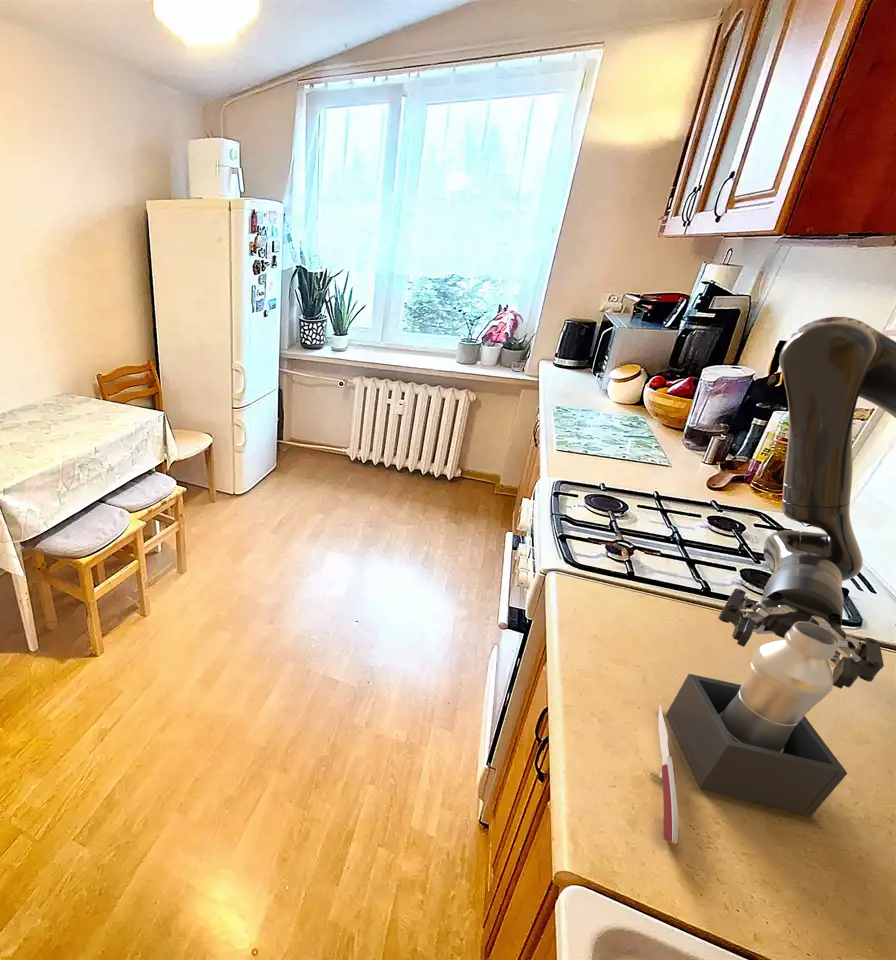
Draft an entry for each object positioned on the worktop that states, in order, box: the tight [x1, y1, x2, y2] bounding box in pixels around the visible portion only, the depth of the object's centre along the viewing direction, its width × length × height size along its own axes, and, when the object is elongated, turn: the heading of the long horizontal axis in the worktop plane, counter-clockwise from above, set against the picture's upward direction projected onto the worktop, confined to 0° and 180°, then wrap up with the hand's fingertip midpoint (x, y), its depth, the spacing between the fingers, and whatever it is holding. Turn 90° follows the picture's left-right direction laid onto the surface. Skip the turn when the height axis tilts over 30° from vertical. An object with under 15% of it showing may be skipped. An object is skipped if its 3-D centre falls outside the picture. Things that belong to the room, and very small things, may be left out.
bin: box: [665, 673, 848, 818], centre depth 62 cm, size 11×11×8 cm
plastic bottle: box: [719, 621, 841, 753], centre depth 59 cm, size 6×7×20 cm
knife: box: [657, 704, 680, 847], centre depth 62 cm, size 20×1×3 cm, turn 149°
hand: (790, 660), depth 61 cm, fingers open, 8 cm apart
